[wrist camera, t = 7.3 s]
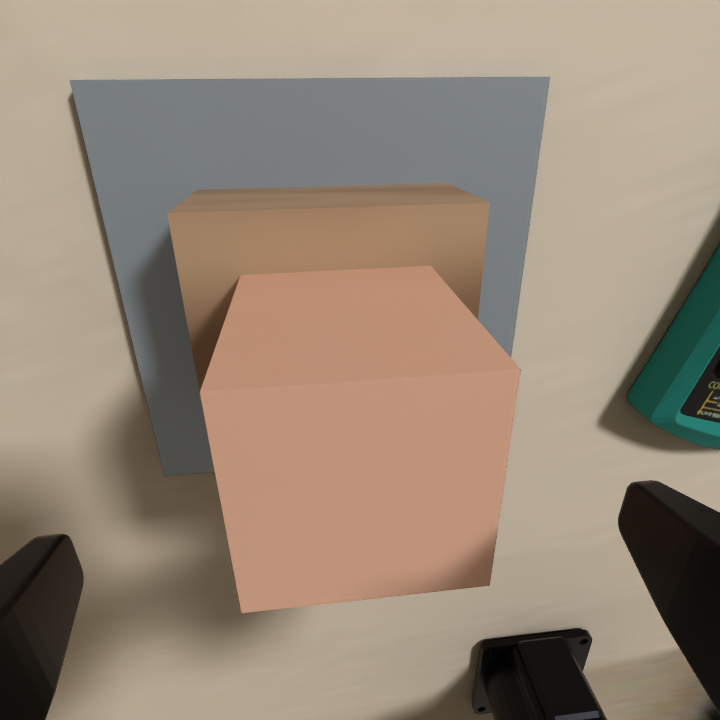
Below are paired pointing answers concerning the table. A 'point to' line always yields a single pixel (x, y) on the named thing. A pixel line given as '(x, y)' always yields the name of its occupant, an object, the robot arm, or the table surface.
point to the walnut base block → (319, 241)
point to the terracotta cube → (357, 436)
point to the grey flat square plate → (292, 169)
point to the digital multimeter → (687, 368)
